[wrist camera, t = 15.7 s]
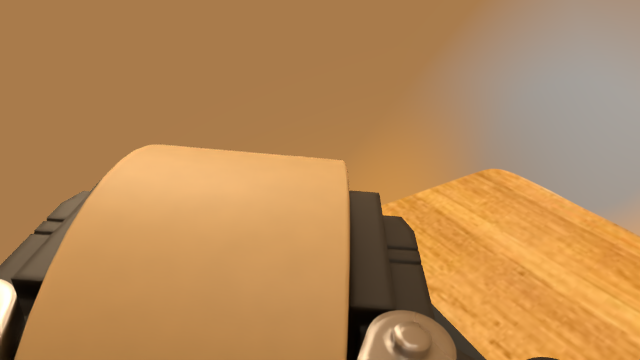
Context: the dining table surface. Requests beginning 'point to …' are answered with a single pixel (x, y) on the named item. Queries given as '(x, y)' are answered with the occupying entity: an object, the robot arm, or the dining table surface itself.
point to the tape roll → (201, 262)
